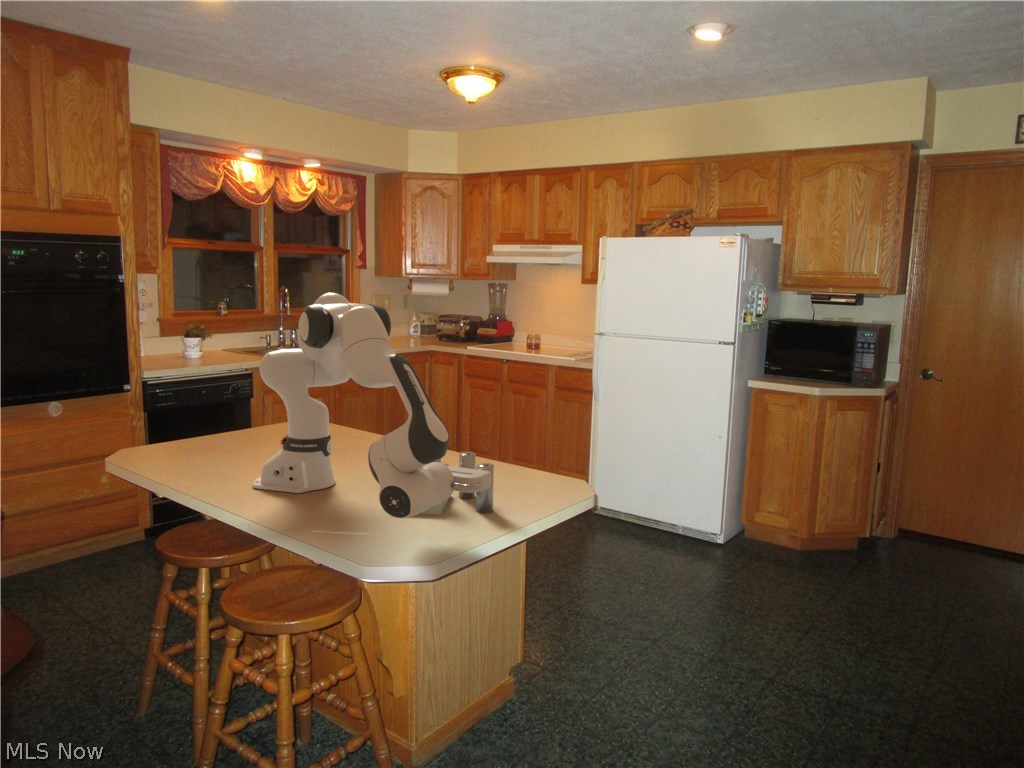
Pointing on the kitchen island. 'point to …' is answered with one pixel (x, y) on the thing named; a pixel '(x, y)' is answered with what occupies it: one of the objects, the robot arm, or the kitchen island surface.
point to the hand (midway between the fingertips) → (463, 469)
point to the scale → (436, 508)
